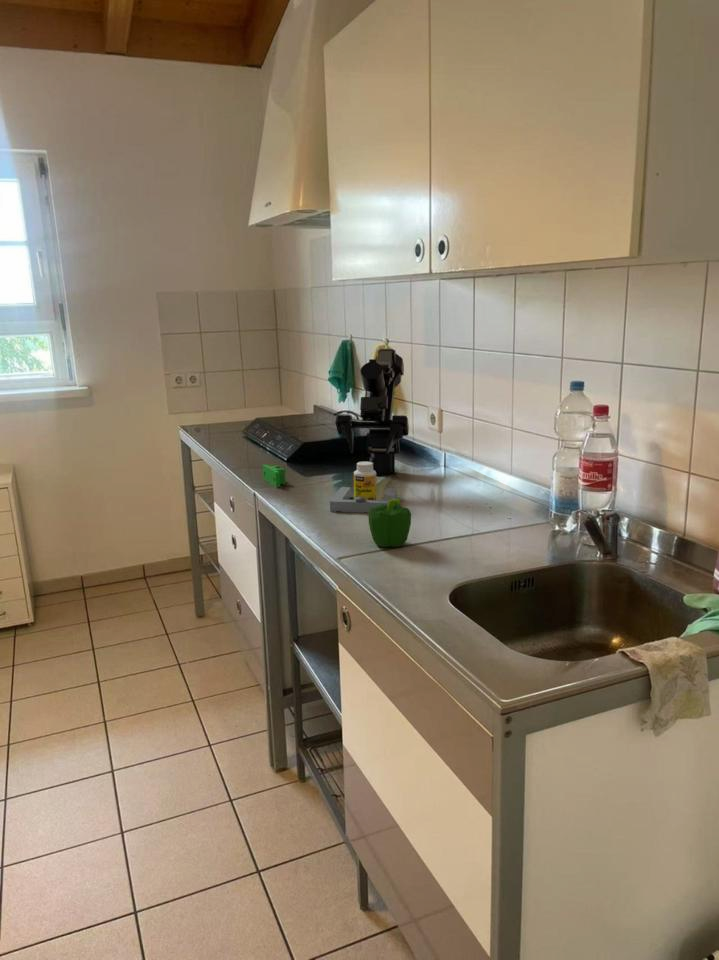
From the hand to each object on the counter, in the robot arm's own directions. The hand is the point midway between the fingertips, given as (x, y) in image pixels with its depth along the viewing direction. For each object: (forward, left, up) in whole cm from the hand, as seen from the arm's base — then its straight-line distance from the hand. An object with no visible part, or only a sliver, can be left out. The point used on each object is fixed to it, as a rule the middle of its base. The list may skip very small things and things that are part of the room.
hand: (369, 452), depth 185 cm
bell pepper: (+8, +39, -12) cm, 42 cm away
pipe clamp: (+20, -22, -12) cm, 32 cm away
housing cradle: (+4, +8, -11) cm, 15 cm away
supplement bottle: (+3, +7, -12) cm, 14 cm away
